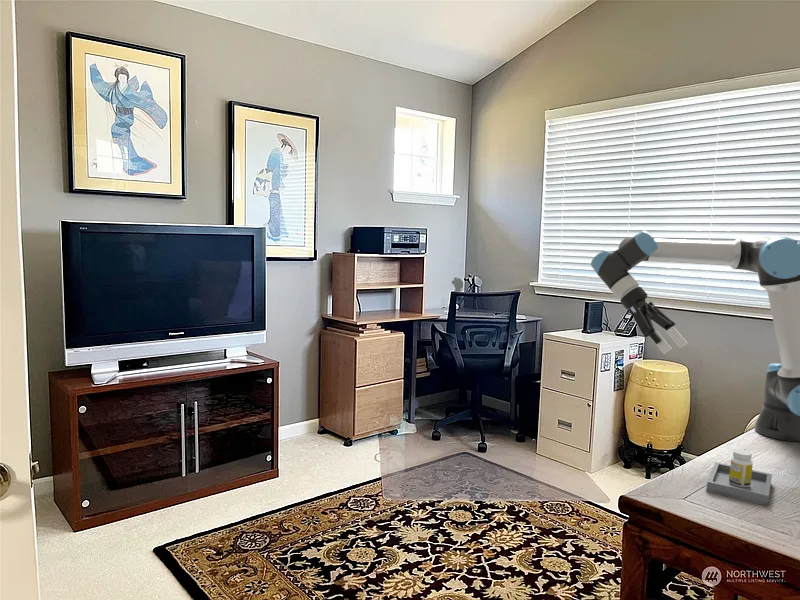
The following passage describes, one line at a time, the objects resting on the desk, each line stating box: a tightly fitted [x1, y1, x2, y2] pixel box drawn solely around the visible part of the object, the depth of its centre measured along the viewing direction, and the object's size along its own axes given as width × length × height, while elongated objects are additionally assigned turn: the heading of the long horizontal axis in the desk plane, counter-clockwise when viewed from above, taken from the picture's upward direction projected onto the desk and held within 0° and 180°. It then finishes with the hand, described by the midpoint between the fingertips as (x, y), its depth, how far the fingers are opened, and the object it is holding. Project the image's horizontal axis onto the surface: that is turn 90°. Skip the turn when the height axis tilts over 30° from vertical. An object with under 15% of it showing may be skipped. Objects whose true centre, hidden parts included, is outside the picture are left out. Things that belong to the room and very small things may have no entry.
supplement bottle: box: [729, 448, 754, 488], centre depth 150 cm, size 5×5×8 cm
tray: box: [706, 461, 773, 507], centre depth 150 cm, size 16×13×2 cm
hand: (676, 348), depth 175 cm, fingers open, 13 cm apart
